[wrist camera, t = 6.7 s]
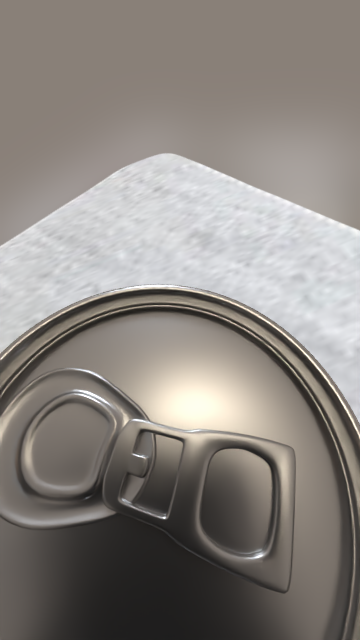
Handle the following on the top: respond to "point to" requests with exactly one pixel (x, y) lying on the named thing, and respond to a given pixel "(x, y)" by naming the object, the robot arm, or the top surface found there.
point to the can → (174, 476)
